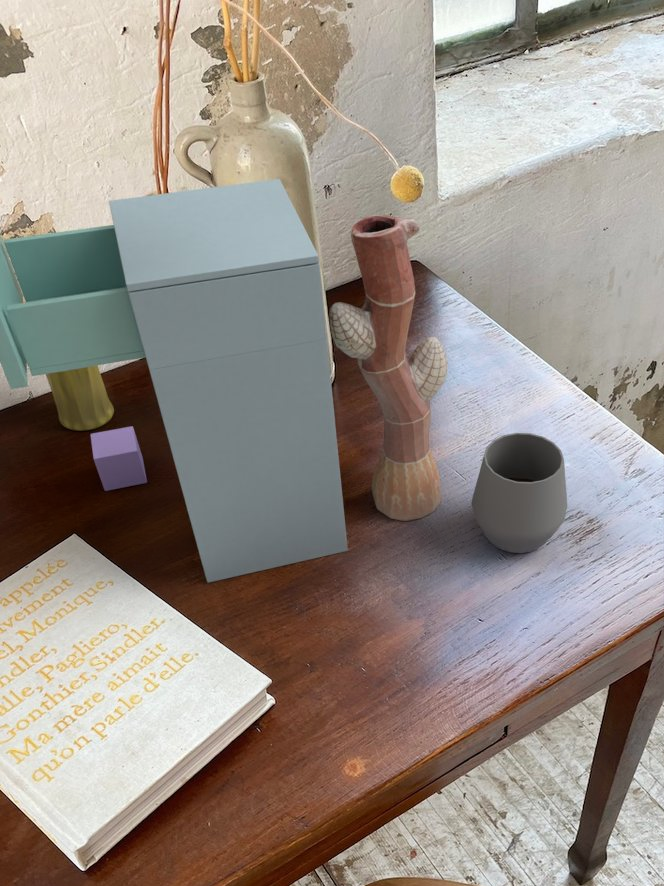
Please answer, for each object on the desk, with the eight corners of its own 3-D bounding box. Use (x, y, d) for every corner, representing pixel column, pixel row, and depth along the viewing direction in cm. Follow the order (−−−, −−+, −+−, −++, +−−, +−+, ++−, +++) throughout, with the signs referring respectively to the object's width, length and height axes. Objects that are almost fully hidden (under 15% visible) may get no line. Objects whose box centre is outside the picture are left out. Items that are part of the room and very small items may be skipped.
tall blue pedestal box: (207, 583, 87) (125, 284, 64) (186, 492, 96) (108, 200, 73) (347, 551, 90) (318, 255, 67) (315, 465, 99) (279, 178, 76)
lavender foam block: (105, 491, 96) (93, 458, 93) (101, 466, 99) (90, 433, 95) (147, 482, 97) (137, 450, 94) (142, 458, 100) (132, 425, 96)
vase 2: (444, 474, 99) (447, 200, 76) (449, 519, 94) (454, 241, 71) (347, 478, 98) (321, 202, 76) (347, 524, 93) (320, 244, 71)
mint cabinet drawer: (-61, 403, 66) (-104, 315, 61) (-56, 308, 75) (-93, 224, 69) (200, 358, 70) (181, 272, 65) (176, 273, 79) (157, 192, 74)
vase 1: (62, 436, 102) (19, 323, 91) (57, 406, 106) (15, 294, 95) (117, 425, 104) (82, 312, 93) (111, 395, 107) (75, 284, 97)
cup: (468, 564, 89) (472, 487, 82) (471, 501, 96) (474, 424, 88) (564, 568, 89) (576, 492, 82) (561, 505, 95) (571, 428, 88)
